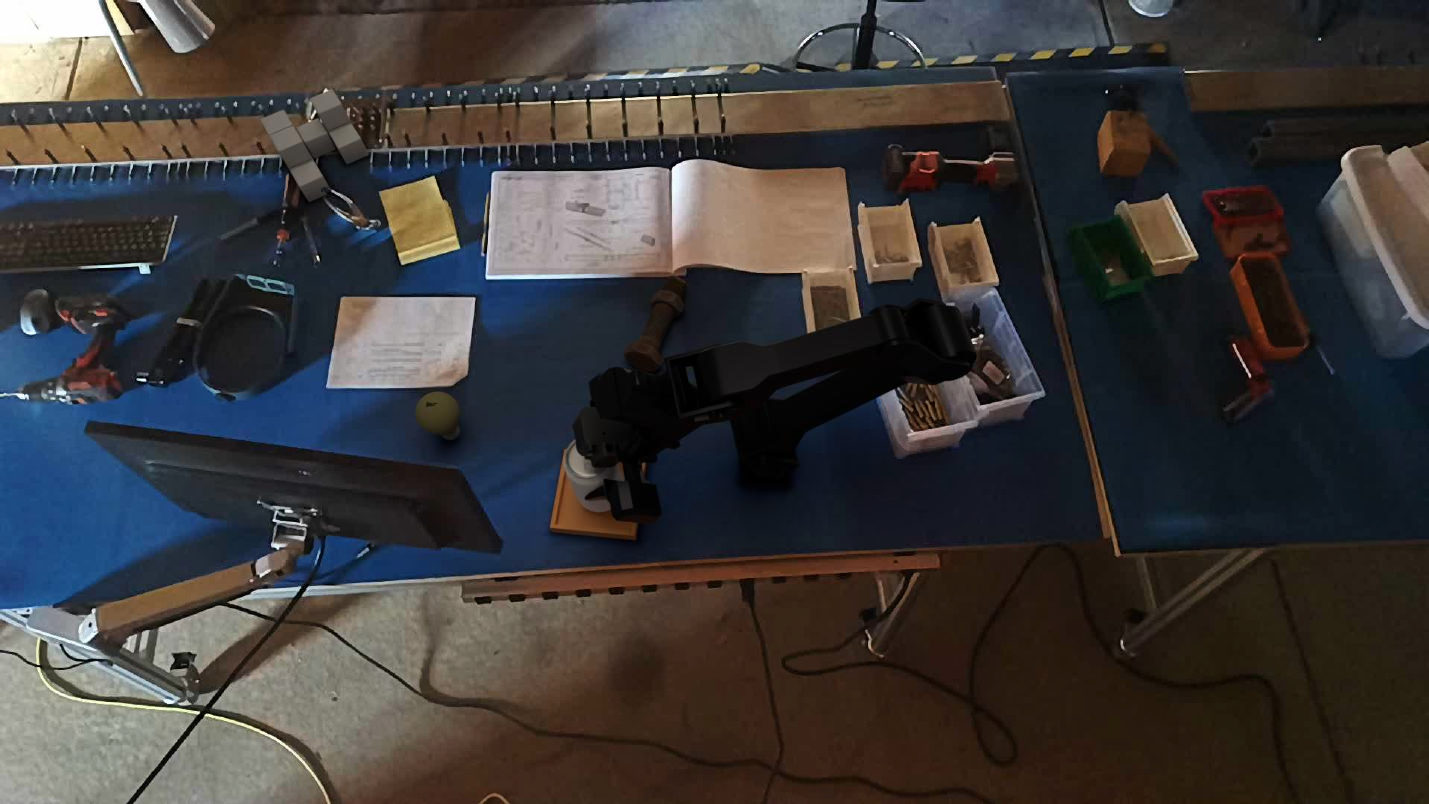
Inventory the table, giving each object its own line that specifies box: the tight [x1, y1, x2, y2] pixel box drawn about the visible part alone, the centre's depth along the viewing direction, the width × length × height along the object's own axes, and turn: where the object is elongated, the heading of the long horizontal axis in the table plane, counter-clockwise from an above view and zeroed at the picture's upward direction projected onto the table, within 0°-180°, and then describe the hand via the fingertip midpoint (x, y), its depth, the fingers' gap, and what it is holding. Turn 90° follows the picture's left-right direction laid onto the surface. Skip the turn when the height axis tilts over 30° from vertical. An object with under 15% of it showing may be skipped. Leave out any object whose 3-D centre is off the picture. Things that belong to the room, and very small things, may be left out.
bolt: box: [623, 275, 688, 372], centre depth 125 cm, size 6×5×15 cm
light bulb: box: [414, 391, 461, 441], centre depth 115 cm, size 6×6×10 cm
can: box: [564, 439, 622, 512], centre depth 108 cm, size 6×6×12 cm
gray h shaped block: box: [260, 89, 369, 203], centre depth 137 cm, size 12×12×8 cm
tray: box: [549, 448, 648, 541], centre depth 115 cm, size 11×11×2 cm
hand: (583, 474), depth 108 cm, fingers closed on can, 6 cm apart
